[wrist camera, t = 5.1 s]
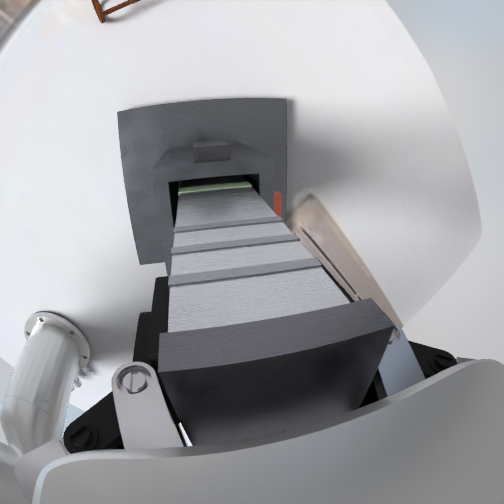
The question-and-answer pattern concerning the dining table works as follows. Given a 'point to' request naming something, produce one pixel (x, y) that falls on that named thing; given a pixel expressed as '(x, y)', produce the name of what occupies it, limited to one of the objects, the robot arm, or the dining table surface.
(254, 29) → the dining table surface
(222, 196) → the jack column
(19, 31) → the dining table surface
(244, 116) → the base
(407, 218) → the dining table surface
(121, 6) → the glasses
